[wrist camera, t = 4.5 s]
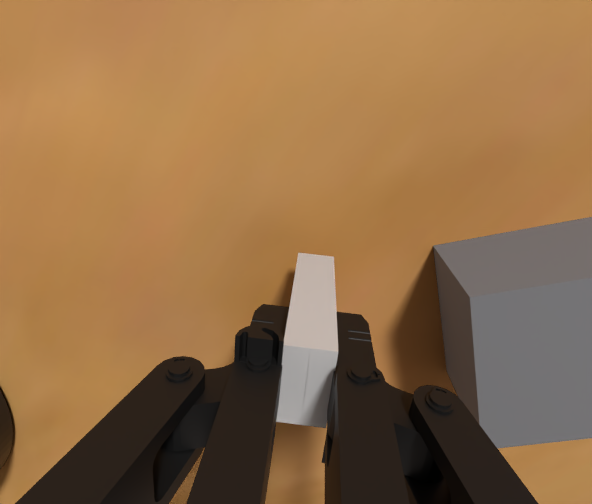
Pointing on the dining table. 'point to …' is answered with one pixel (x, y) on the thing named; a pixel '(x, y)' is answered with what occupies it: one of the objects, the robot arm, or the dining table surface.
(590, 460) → the dining table surface
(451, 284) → the plain gray cuboid
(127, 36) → the dining table surface
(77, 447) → the robot arm
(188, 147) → the dining table surface
